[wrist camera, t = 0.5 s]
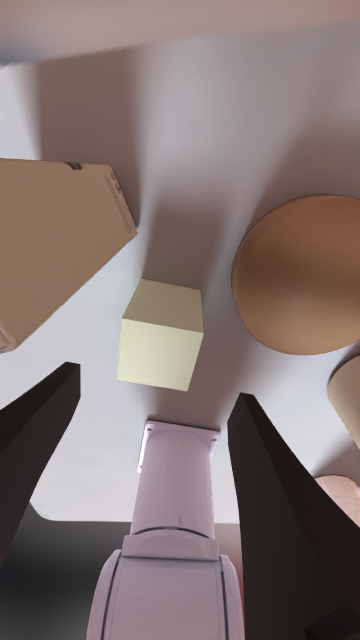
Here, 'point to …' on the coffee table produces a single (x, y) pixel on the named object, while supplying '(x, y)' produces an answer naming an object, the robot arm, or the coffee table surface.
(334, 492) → the white cup
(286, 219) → the coaster stand
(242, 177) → the coffee table surface
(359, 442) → the travel mug
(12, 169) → the box
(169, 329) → the block
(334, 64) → the coffee table surface
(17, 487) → the robot arm
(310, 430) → the coffee table surface
